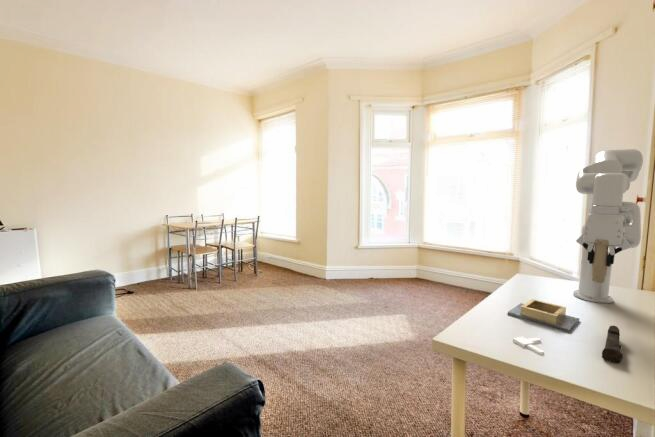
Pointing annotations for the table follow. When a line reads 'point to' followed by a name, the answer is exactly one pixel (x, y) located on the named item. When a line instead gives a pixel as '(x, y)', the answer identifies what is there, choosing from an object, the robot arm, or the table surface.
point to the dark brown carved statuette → (612, 346)
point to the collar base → (545, 315)
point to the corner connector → (529, 343)
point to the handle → (600, 261)
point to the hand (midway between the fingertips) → (599, 263)
